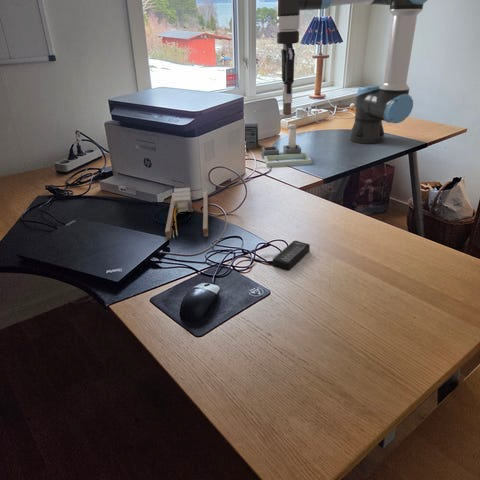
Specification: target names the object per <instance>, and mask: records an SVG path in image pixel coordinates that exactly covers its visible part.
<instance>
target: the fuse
mask: <svg viewBox="0 0 480 480" xmlns="http://www.w3.org/2000/svg"><path fill="white" fill-rule="evenodd" d="M297 127H298V126H297V124H295V123H290V124H288V126H287V129H288V144H287V145H288V149H296V145H297Z"/></svg>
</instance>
